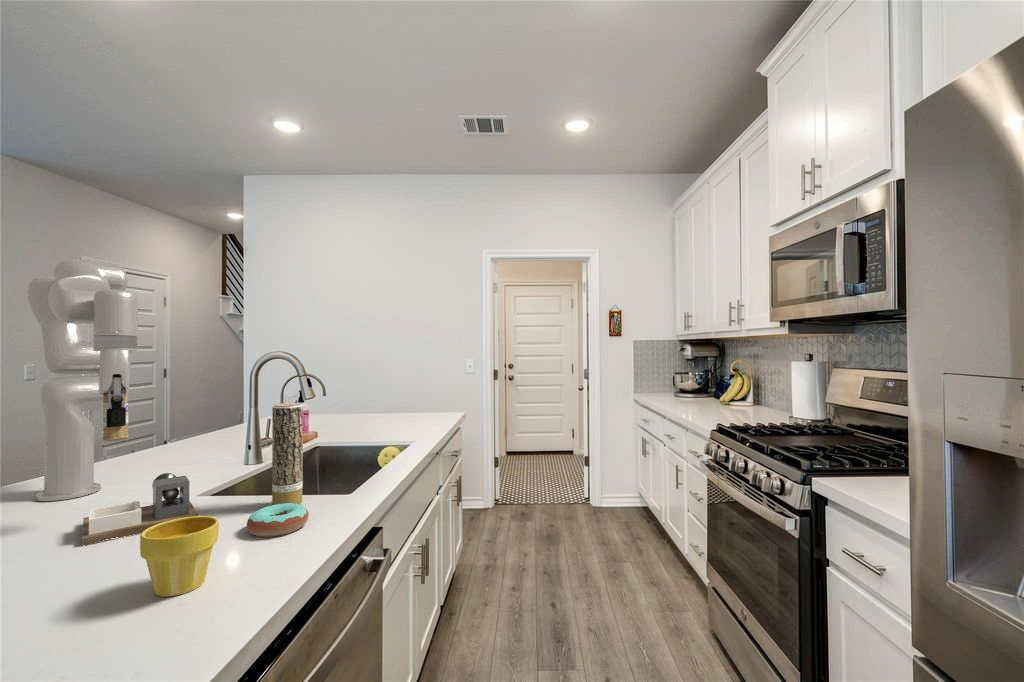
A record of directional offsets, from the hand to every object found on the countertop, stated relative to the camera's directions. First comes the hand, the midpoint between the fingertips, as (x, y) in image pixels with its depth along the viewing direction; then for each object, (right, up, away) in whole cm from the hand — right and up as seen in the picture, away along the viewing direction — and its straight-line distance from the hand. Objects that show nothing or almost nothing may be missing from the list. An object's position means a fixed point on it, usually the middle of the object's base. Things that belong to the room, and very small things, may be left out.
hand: (115, 424), depth 101 cm
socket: (+4, -20, -5) cm, 21 cm away
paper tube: (+34, -22, +10) cm, 42 cm away
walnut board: (+6, -22, -1) cm, 23 cm away
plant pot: (+35, -22, -28) cm, 50 cm away
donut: (+39, -22, -4) cm, 45 cm away
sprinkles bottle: (0, -4, 0) cm, 4 cm away
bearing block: (+12, -20, +1) cm, 24 cm away
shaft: (+8, -19, +5) cm, 21 cm away
